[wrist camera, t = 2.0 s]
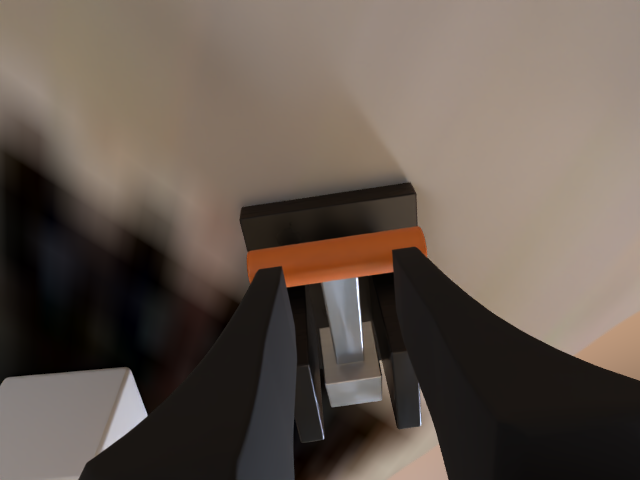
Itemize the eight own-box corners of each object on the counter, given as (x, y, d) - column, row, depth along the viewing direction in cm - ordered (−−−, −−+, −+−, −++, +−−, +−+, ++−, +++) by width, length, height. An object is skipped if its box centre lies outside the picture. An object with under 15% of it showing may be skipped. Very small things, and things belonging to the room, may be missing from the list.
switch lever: (245, 226, 15) (247, 297, 13) (414, 201, 15) (434, 270, 13) (294, 359, 23) (298, 412, 21) (403, 343, 23) (415, 396, 21)
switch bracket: (240, 207, 23) (223, 315, 17) (410, 181, 23) (461, 281, 17) (278, 359, 29) (277, 488, 22) (417, 339, 28) (457, 463, 22)
